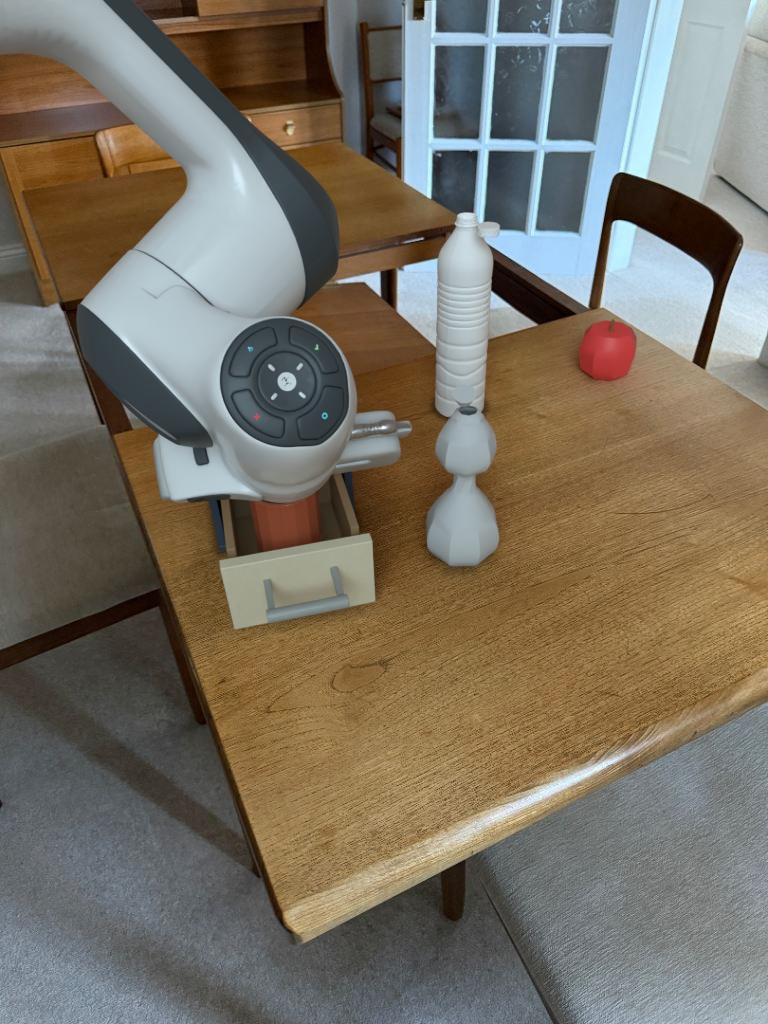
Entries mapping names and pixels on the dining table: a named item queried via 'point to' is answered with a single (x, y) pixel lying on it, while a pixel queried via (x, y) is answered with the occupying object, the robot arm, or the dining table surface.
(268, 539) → the cup
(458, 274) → the water bottle
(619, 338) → the apple
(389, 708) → the dining table surface
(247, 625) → the drawer
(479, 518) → the gourd bottle
